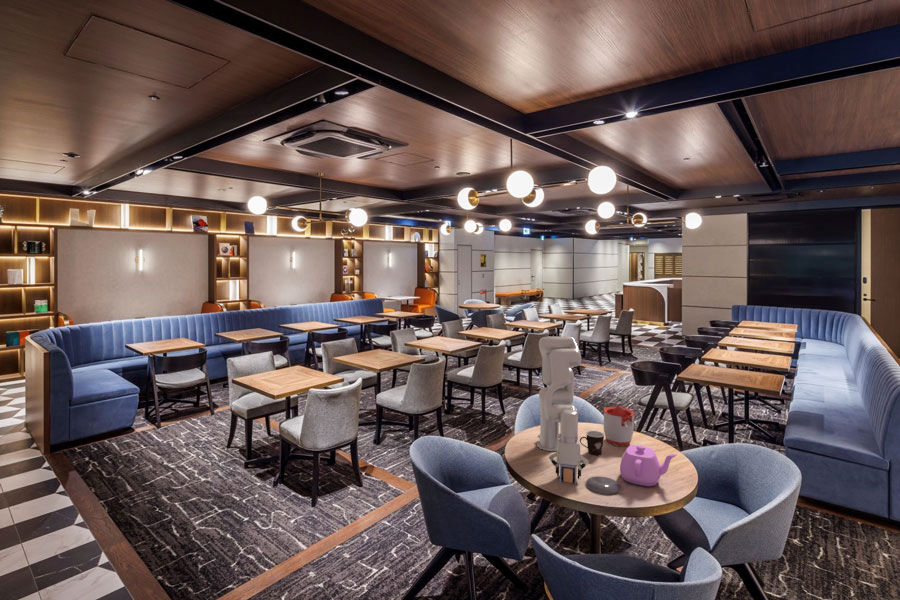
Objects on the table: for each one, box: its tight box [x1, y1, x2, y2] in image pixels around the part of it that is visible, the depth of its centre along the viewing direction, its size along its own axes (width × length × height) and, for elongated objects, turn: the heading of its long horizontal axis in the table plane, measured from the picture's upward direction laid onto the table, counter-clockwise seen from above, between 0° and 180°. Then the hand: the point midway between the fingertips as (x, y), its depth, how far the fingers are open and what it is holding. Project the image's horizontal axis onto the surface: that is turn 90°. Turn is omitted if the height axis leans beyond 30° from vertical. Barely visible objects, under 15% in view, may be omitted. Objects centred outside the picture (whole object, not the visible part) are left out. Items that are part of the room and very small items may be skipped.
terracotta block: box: [562, 467, 574, 483], centre depth 199 cm, size 4×4×6 cm
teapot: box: [619, 444, 678, 487], centre depth 196 cm, size 23×21×15 cm
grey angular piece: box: [559, 464, 578, 485], centre depth 199 cm, size 7×7×8 cm
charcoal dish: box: [585, 475, 622, 496], centre depth 193 cm, size 14×14×1 cm
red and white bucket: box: [602, 405, 635, 447], centre depth 239 cm, size 16×17×20 cm
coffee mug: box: [579, 430, 605, 457], centre depth 227 cm, size 12×9×10 cm
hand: (568, 476), depth 199 cm, fingers open, 8 cm apart
